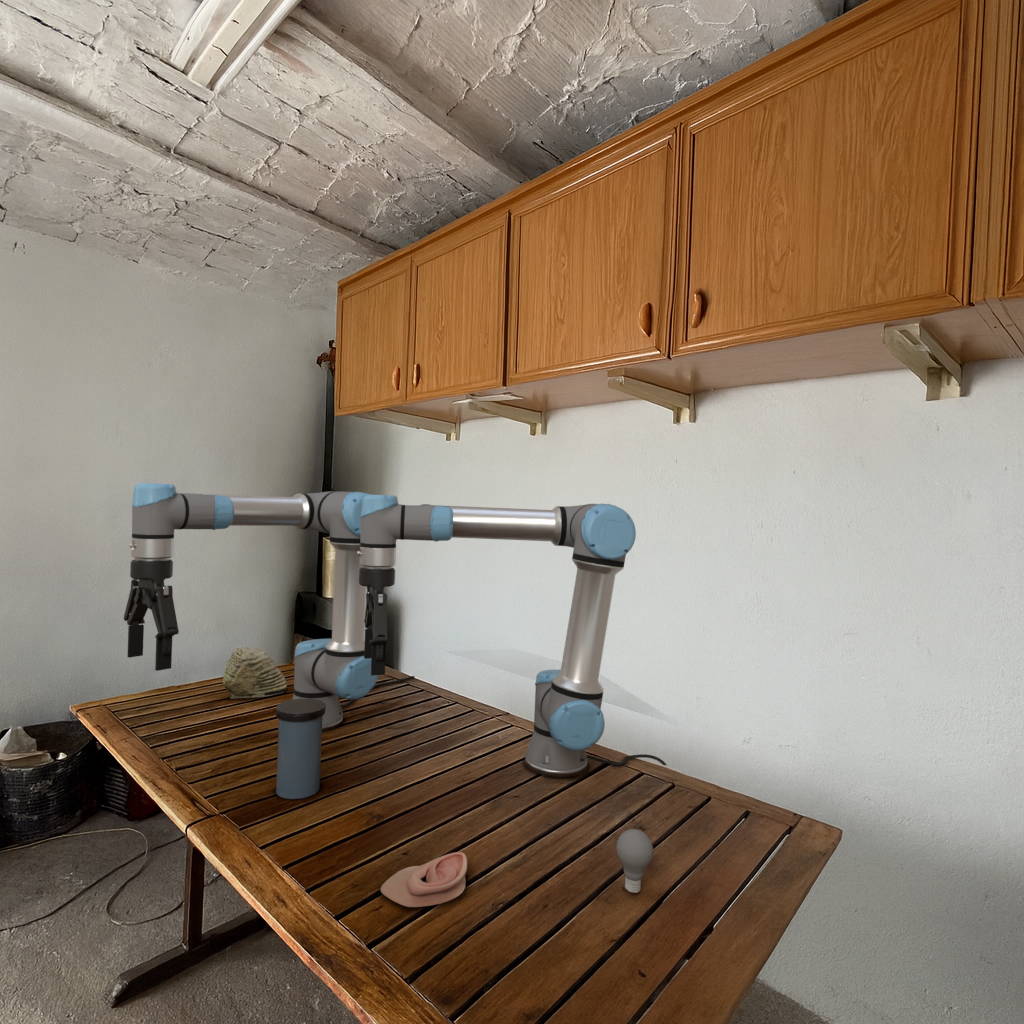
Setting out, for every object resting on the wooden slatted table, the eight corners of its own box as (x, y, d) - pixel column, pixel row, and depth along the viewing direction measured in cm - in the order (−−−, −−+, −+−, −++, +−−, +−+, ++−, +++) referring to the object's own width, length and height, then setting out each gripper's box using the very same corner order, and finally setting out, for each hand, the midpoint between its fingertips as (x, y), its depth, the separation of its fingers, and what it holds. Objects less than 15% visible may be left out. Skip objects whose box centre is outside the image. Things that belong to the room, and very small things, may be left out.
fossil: (218, 695, 195) (220, 647, 195) (278, 685, 208) (279, 640, 207) (228, 703, 189) (230, 653, 188) (289, 692, 201) (290, 645, 201)
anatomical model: (373, 876, 100) (400, 838, 111) (372, 901, 100) (399, 861, 111) (454, 890, 97) (473, 850, 108) (452, 915, 97) (472, 873, 108)
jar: (290, 803, 130) (293, 718, 130) (267, 789, 136) (270, 707, 136) (328, 789, 137) (331, 708, 137) (305, 776, 143) (308, 698, 143)
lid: (292, 725, 129) (292, 717, 129) (266, 712, 136) (267, 705, 136) (334, 713, 137) (335, 706, 137) (308, 702, 144) (308, 695, 144)
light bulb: (610, 879, 108) (613, 822, 108) (644, 879, 109) (647, 822, 109) (619, 902, 102) (622, 840, 102) (655, 901, 103) (658, 840, 103)
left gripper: (108, 554, 134) (104, 654, 134) (159, 565, 118) (155, 678, 119) (146, 552, 140) (143, 648, 140) (199, 563, 124) (195, 671, 124)
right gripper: (354, 560, 145) (351, 652, 146) (365, 574, 122) (361, 683, 122) (387, 560, 148) (384, 651, 148) (404, 574, 124) (400, 681, 125)
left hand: (148, 662), depth 129 cm, fingers open, 13 cm apart
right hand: (373, 666), depth 135 cm, fingers open, 13 cm apart
